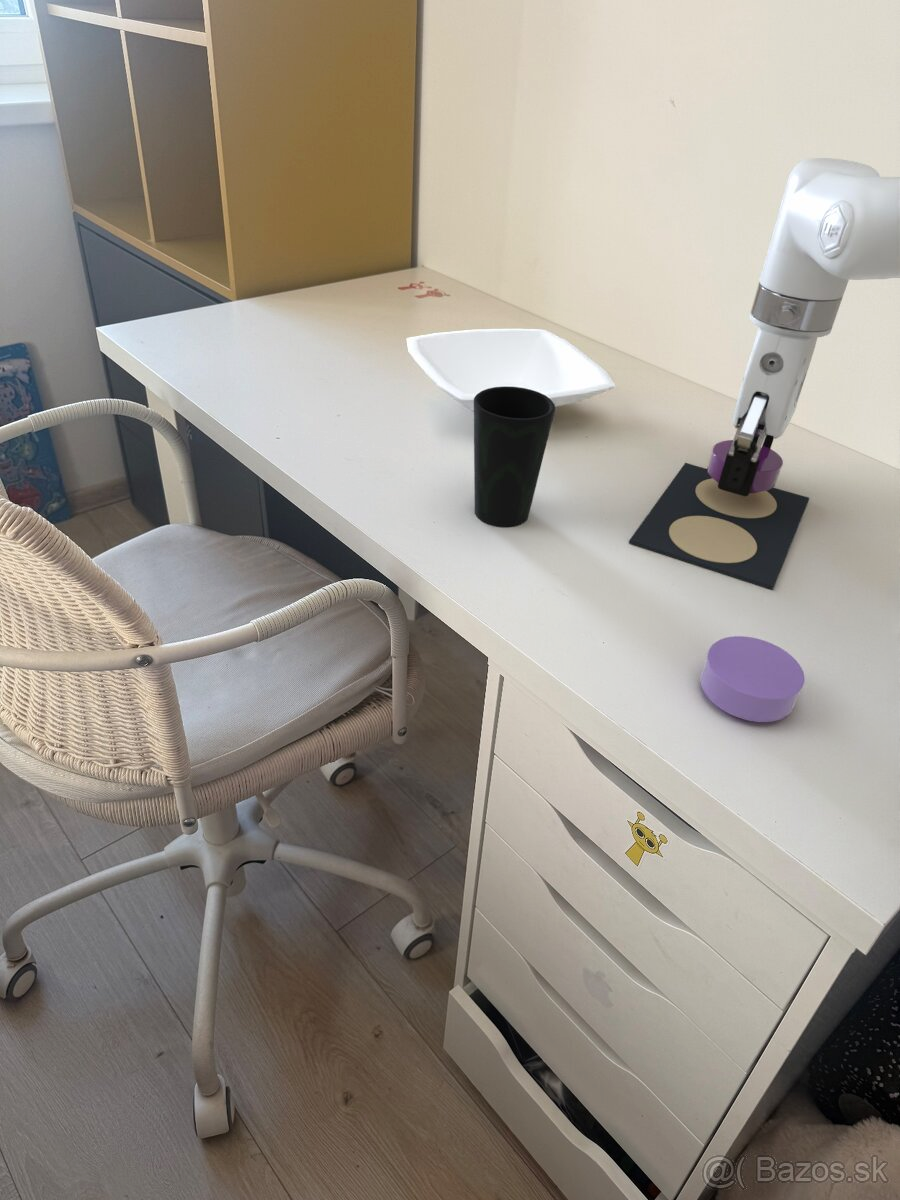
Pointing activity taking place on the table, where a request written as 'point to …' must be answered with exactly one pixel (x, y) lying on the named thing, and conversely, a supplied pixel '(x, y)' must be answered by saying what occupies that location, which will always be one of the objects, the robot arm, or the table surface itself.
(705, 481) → the placemat
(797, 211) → the robot arm
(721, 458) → the purple short cylinder
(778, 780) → the table surface
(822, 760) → the table surface
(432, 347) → the bowl
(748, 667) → the lavender short cylinder
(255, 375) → the table surface
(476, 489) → the cup
